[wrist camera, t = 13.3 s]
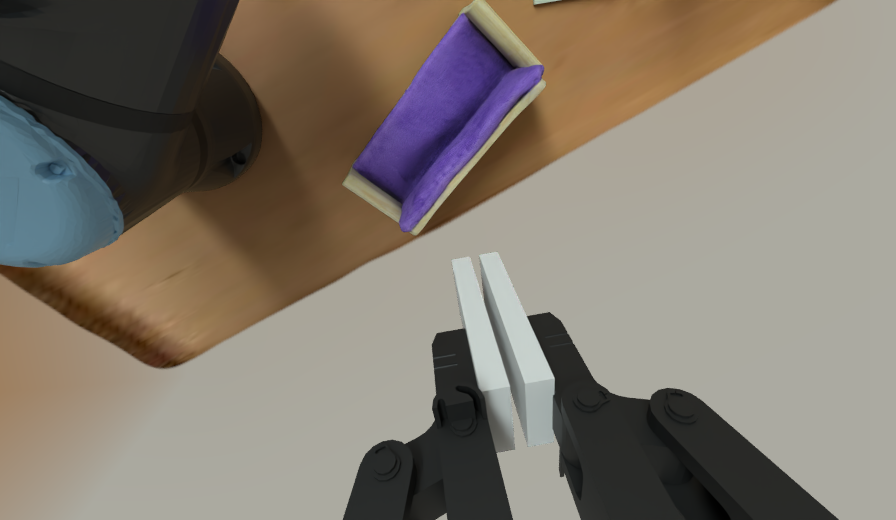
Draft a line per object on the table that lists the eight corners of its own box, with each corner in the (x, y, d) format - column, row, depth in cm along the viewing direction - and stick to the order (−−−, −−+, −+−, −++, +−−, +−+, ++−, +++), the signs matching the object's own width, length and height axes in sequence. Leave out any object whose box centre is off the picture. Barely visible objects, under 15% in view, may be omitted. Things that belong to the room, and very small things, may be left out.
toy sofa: (466, -1, 36) (487, -16, 27) (526, 64, 39) (561, 70, 30) (347, 165, 42) (332, 197, 34) (407, 208, 46) (407, 247, 37)
